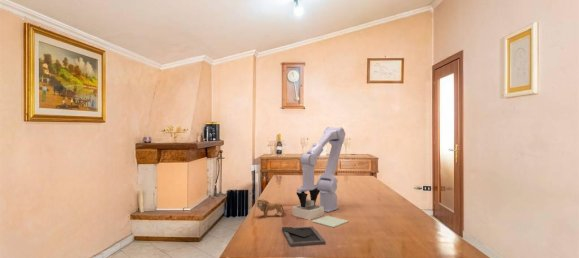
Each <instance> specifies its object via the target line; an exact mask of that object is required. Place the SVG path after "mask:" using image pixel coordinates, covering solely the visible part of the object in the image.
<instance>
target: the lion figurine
mask: <svg viewBox="0 0 579 258" xmlns="http://www.w3.org/2000/svg"><path fill="white" fill-rule="evenodd" d="M256 207H257V209H258V210H260V211H261V212H263V215H262V217H264V218H265V219H267V217H268V214H269V213H268V212H272V211H274V210H276V213H275V214H274V216H278V215H279V214H281V215H280V217H281V218H283V217H284V215H287V213H286V212H285V211H284V207H283V204H282V203H281V202H278V201H277V202H276V201H275V202H272V203H271V202H269V201H268V200H265V199H263V198H258V199H257V200H256Z"/></svg>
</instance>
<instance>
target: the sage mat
mask: <svg viewBox="0 0 579 258" xmlns="http://www.w3.org/2000/svg"><path fill="white" fill-rule="evenodd" d="M311 222H312V223H314V224H319V225H323V226H325V227H329V228H336V227H338V226H342V225H344V224H346V223H349V220H348V219H347V220H346V219H342V218H338V217H334V216H331V215H326V216H321V217H318V218H315V219H312V220H311Z"/></svg>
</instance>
